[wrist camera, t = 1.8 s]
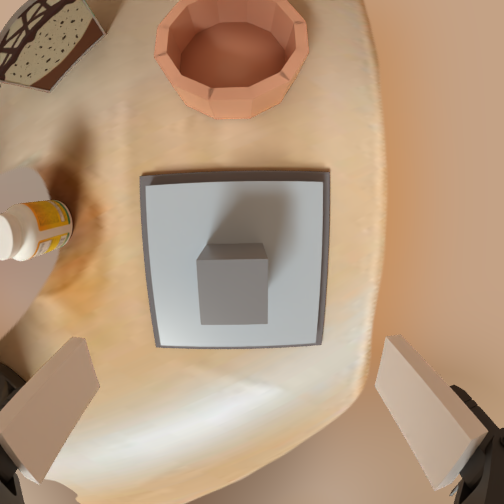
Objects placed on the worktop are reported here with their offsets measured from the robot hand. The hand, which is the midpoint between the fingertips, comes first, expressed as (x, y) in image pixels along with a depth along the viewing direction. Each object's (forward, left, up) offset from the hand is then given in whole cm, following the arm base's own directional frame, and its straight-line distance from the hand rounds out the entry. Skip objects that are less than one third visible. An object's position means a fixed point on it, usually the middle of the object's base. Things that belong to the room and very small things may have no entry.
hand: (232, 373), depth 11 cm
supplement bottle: (-20, +5, -18) cm, 27 cm away
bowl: (0, +20, -17) cm, 26 cm away
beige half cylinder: (-20, +26, -18) cm, 37 cm away
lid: (0, 0, -17) cm, 17 cm away
